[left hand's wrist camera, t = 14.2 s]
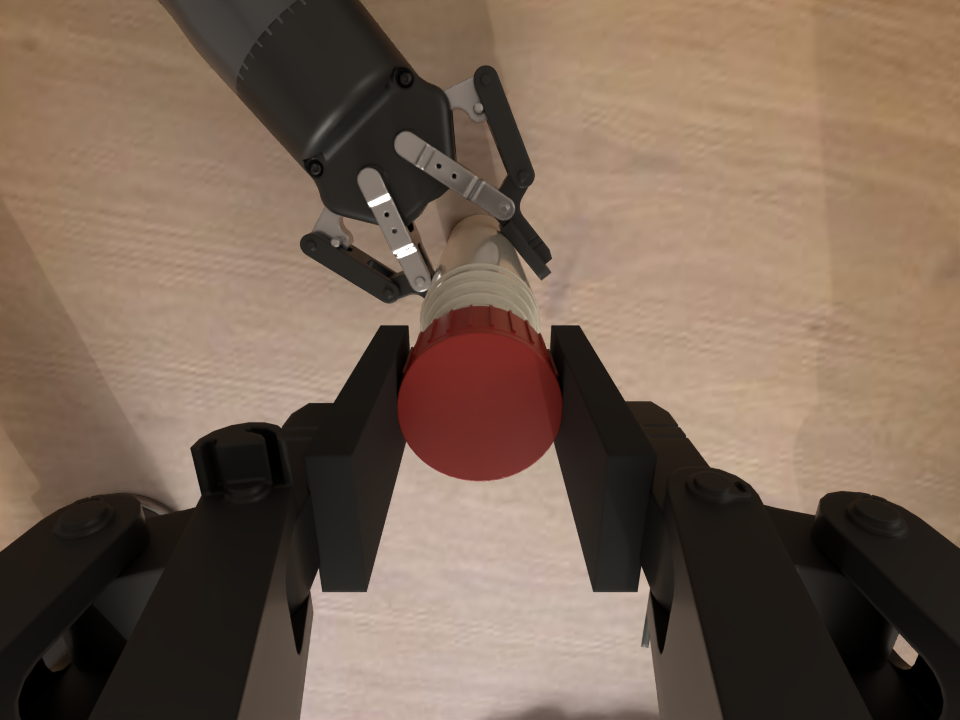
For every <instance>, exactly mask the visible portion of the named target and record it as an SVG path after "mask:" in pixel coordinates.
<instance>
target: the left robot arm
mask: <svg viewBox="0 0 960 720" xmlns="http://www.w3.org/2000/svg"><path fill="white" fill-rule="evenodd" d="M409 352H410V345H409V326H408V325H381V326H380V327H379V329H378V331H377V332H376V334H375V336H374V337H373V339H372V341H371V342H370V344H369V346H368V347H367V349H366V350H365V352H364V354H363V355H362V357H361V359H360V360H359V362H358V364H357V365H356V367H355V369H354V370H353V372H352V374H351V375H350V377H349V378H348V380H347V382H346V383H345V385H344V387H343V388H342V390H341V392H340V393H339V395H338V397H337V398H336V400H335V402H334V403H308V404H307V405H305V406H304V407H302V408H300V409H299V410H297V411H296V412H294V413H292V414H291V415H290V417H289V418H288V419H287V421H286V422H285V423H284V425H283V426H282V428H280V427H279V426H278V425H274V424H270V423H265V422H248V423H242V424H236V425H231V426H228V427H225V428H222V429H219V430H216V431H213V432H211V433H209V434H208V435H206V436H204V437H202V438H200V439H199V440H198V441H197V442H196V443H195V444H194V445H193V446H192V447H191V448H190V449H191V453H192V457H193V461H194V465H195V470H196V474H197V478H198V482H199V486H200V491H201V495H202V496H201V498H200V500H199V502H198V504H197V506H196V507H195V508H191V509H187V510H183V511H178V512H172V513H167V514H162V515H157V516H152V517H147V518H145V516H144V512H143V509H142V505H141V502H140V501H139V500H137V499H136V498H135V497H134V496H131V495H125V494H120V493H119V494H107V495H97V496H91V498H88V497H87V498H84V499H81V500H78V501H76V502H74V503H73V504H70V505H68V506H66V507H63V508H61V509H59V510H57V511H55V512H54V513H52V514H51V515H49V516H47V517H46V518H44V519H43V520H41V521H40V522H38V523H37V524H36V525H35V526H33V527H32V528H31V529H29V530H28V531H27V532H26V533H24V534H23V535H22V536H20V537H19V538H18V539H17V540H15V541H14V542H13V543H11V544H10V545H9V546H7V547H6V548H5V549H4V550H2V551H1V552H0V720H300V714H301V706H302V698H303V690H304V682H305V675H306V667H307V659H308V651H309V643H310V635H311V627H312V620H313V606H312V599H311V593H310V589H311V586H312V584H313V581H314V579H315V576H316V574H317V571H318V568H319V572H320V579H321V586H322V592H367V588H368V585H369V581H370V577H371V573H372V569H373V566H374V562H375V558H376V554H377V550H378V547H379V543H380V539H381V535H382V531H383V528H384V524H385V520H386V516H387V513H388V509H389V505H390V501H391V497H392V494H393V490H394V486H395V482H396V478H397V475H398V471H399V467H400V463H401V459H402V456H403V452H404V448H405V444H406V440H405V438H404V436H403V434H402V431H401V429H400V425H399V421H398V407H397V397H398V391H399V388H400V385H401V382H402V379H403V376H404V375H402V371H403V368H404V366H405V363H406V360H407V358H408V355H409ZM550 353H551V355H552V358H553V361H554V363H555V366H556V369H557V371H558V374H559V377H557V379H558V382H559V385H560V388H561V392H562V398H563V404H562V419H561V425H560V428H559V431H558V433H557V435H556V438H555V440H554V445H555V448H556V452H557V456H558V460H559V464H560V467H561V471H562V475H563V479H564V483H565V486H566V490H567V494H568V498H569V502H570V505H571V509H572V513H573V517H574V521H575V524H576V528H577V532H578V536H579V540H580V543H581V547H582V551H583V555H584V559H585V562H586V566H587V570H588V574H589V578H590V581H591V585H592V589H593V592H638V585H639V578H640V571H641V566H642V569H643V571H644V574H645V576H646V579H647V581H648V584H649V586H650V593H649V599H648V605H647V612H646V618H645V624H644V631H643V637H642V645H641V647H647V648H648V646H649V640H650V642H651V650H652V658H653V666H654V673H655V681H656V689H657V697H658V705H659V713H660V720H960V548H958V547H957V546H956V545H954V544H953V543H952V542H950V541H949V540H948V539H947V538H945V537H944V536H943V535H941V534H940V533H939V532H937V531H936V530H935V529H934V528H932V527H931V526H930V525H928V524H927V523H926V522H924V521H923V520H922V519H921V518H919V517H917V516H916V515H914V514H913V513H911V512H909V511H908V510H906V509H905V508H903V507H901V506H899V505H896V504H894V503H892V502H889V501H887V500H886V499H884V498H882V497H878V496H875V495H872V496H871V495H870V494H867V493H861V492H847V491H839V492H833V493H827V494H826V495H825V496H824V497H823V498H821V499H820V501H819V505H818V508H817V512H816V515H810V514H805V513H800V512H795V511H789V510H784V509H779V508H775V507H771V506H767V505H763V503H762V501H761V499H760V497H759V495H758V494H757V492H756V491H755V490H754V489H753V488H752V486H751V485H750V484H748V483H747V482H745V481H744V480H742V479H741V478H739V477H737V476H736V475H733V474H730V473H728V472H725V471H723V470H720V469H715V468H710V467H709V465H708V464H707V463H706V461H705V460H704V459H703V457H702V456H701V455H700V453H699V452H698V451H697V449H696V448H695V447H694V445H693V444H692V443H691V441H690V440H689V439H688V438H686V435H685V433H684V432H683V431H682V429H681V428H680V427H678V424H677V423H676V421H675V420H674V419H673V417H672V416H671V415H670V413H669V412H667V411H666V410H664V409H663V408H661V407H659V406H658V405H656V404H654V403H653V402H651V401H625V400H624V398H623V397H622V395H621V394H620V392H619V390H618V389H617V387H616V385H615V384H614V382H613V380H612V379H611V377H610V375H609V374H608V372H607V370H606V369H605V367H604V366H603V364H602V362H601V361H600V359H599V357H598V356H597V354H596V352H595V351H594V349H593V347H592V346H591V344H590V342H589V341H588V339H587V337H586V336H585V334H584V333H583V331H582V329H581V328H580V326H579V325H551V342H550ZM898 634H900V635H901V636H902V637H903V638H904V639H905V640H906V641H907V642H908V643H909V644H910V645H911V646H912V647H913V648H914V650H915V651H916V652H917V653H918V654H919V655H918V657H917V659H916V662H915V664H914V665H913V666H910V665H908V664H907V663H906V662H905V661H904V660H903V659H902V658H901V657H900V656H899V655H898V654H897V653H896V652H895V651H894V649H893V647H894V644H895V642H896V639H897V637H898ZM61 636H62V637H63V640H64V642H65V645H66V647H67V650H68V651H67V652H66V654H65V655H64V656H63V657H62V658H61V659H60V660H59V661H58V662H57V663H56V664H54V665H53V666H52V667H51V668H48V667H47V666H46V664H45V662H44V660H43V656H44V655H45V653H46V652H47V651H48V650H49V649H50V648H51V647H52V646H53V645H54V644H55V643H56V642H57V641H58V639H59V638H60V637H61Z"/></svg>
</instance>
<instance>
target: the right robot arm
mask: <svg viewBox="0 0 960 720" xmlns="http://www.w3.org/2000/svg"><path fill="white" fill-rule="evenodd" d="M158 1H159V2H160V4H162V5H163V7H164V8H165V9H166V10H167V11H168V13H169V14H170V15H171V16H172V18H173V19H174V20H175V22H176V23H177V24H178V26H179V27H180V29H181V30H182V31H183V33H184V34H185V36H186V37H187V38H188V40H189V41H190V42H191V44H192V45H193V46H194V48H195V49H196V50H197V51H198V53H199V54H200V55H201V56H202V57H203V58H204V60H205V61H206V62H207V63H208V64H209V65H210V66H211V68H212V69H213V70H214V71H215V72H216V73H217V74H218V75H219V76H220V77H221V79H222V80H223V81H224V82H225V83H226V84H227V85H228V86H229V87H230V88H231V89H232V91H233V92H234V93H235V94H236V95H237V96H238V97H239V98H240V99H241V100H242V101H243V103H244V104H245V105H246V106H247V107H248V108H249V109H250V110H251V111H252V112H253V114H254V115H255V116H256V117H257V118H258V119H259V120H260V121H261V122H262V124H263V125H264V126H265V127H266V128H267V129H268V130H269V131H270V132H271V133H272V135H273V136H274V137H275V138H276V139H277V140H278V141H279V142H280V143H281V144H282V146H283V147H284V148H285V149H286V150H287V151H288V152H289V153H290V154H291V155H292V157H293V158H294V159H295V160H296V161H297V162H298V163H299V164H300V165H301V166H302V168H303V169H304V170H305V171H306V172H307V173H308V174H309V175H310V176H311V177H312V179H313V180H314V181H315V183H316V185H317V187H318V190H319V193H320V196H321V200H322V202H323V204H324V205H325V208H324V210H323V211H322V213H321V215H320V217H319V219H318V221H317V223H316V225H315V227H314V229H313V231H312V232H311V233H309V234H307V235H305V236H303V237H302V239H301V241H300V247H301V249H302V251H303V252H304V253H305V254H306V255H308V256H309V257H311V258H312V259H314V260H316V261H317V262H319V263H321V264H322V265H324V266H326V267H327V268H329V269H330V270H332V271H334V272H335V273H337V274H339V275H340V276H342V277H344V278H345V279H347V280H348V281H350V282H352V283H353V284H355V285H357V286H358V287H360V288H362V289H363V290H365V291H366V292H368V293H370V294H371V295H373V296H375V297H376V298H378V299H380V300H381V301H383V302H385V303H394V302H395V301H397V299H400V298H403V297H405V296H408V295H411V294H417V295H420V296H422V297H423V298H424V299H425V296H426V294H427V291H428V289H429V286H430V284H431V281H432V279H433V276H434V274H435V271H434V268H433V266H432V264H431V261H430V259H429V257H428V255H427V253H426V250H425V248H424V246H423V244H422V241H421V237H420V234H419V232H418V230H417V228H416V225H415V223H414V220H415V219H416V218H417V217H419V216H420V215H421V214H422V212H423V211H424V209H425V208H426V206H427V204H428V203H429V202H431V201H433V200H435V199H437V198H439V197H440V196H442V195H443V194H444V193H445V192H446V191H447V190H448V189H449V188H450V189H452V190H453V191H455V192H456V193H458V194H459V195H461V196H463V197H464V198H466V199H468V200H469V201H471V202H473V203H474V204H476V205H477V206H479V207H480V208H482V209H483V210H485V211H486V212H488V213H489V214H491V215H492V216H494V217H495V218H496V220H497V221H498V222H499V223H500V224H499V228H500V230H501V232H502V233H503V234H504V235H505V237H506V238H507V239H508V240H509V241H510V242H511V244H512V245H513V246H514V248H515V249H516V250H517V251H518V253H519V254H520V255H521V256H522V258H523V259H524V260H525V261H526V262H527V264H528V265H529V266H530V267H531V269H532V270H533V271H534V272H535V273H536V275H537V276H538V277H539V278H540V279H541V280H543V279H544V278H545V277H546V276H548V275H549V274H550V273H551V271H550V270H549V268H548V267H547V266H546V263H547V262H549V261H550V260H551V259H552V257H551V253H550V250H549V248H548V247H547V246H546V244H545V243H544V242H543V241H542V239H541V238H540V237H539V236H538V234H537V233H536V232H535V231H534V229H533V228H532V227H531V225H530V224H529V223H528V222H527V220H526V219H525V218H524V217H523V215H522V214H521V211H520V201H521V199H522V197H523V195H524V193H525V192H526V190H527V188H528V187H529V186H530V185H531V184H532V183H533V181H534V177H535V174H534V170H533V167H532V165H531V162H530V159H529V157H528V154H527V151H526V149H525V146H524V143H523V141H522V138H521V135H520V133H519V130H518V128H517V125H516V122H515V120H514V117H513V114H512V112H511V109H510V106H509V104H508V101H507V98H506V96H505V93H504V90H503V88H502V85H501V82H500V80H499V77H498V74H497V72H496V71H495V69H494V68H492V67H491V66H486V65H485V66H481V67H479V68H478V69H477V70H476V72H475V74H474V76H472V77H470V78H468V79H466V80H464V81H462V82H460V83H458V84H456V85H454V86H452V87H450V88H448V89H446V90H444V91H443V90H442V89H441V88H439V87H438V86H436V85H433V84H431V83H428V82H426V81H425V80H423V79H422V78H421V77H419V76H418V74H417V73H416V72H415V71H414V69H413V68H412V67H411V66H410V64H409V63H408V62H407V60H406V59H405V58H404V57H403V55H402V54H401V53H400V51H399V50H398V49H397V48H396V46H395V45H394V44H393V43H392V41H391V40H390V39H389V37H388V36H387V35H386V34H385V32H384V31H383V30H382V29H381V27H380V26H379V25H378V23H377V22H376V21H375V20H374V18H373V17H372V16H371V15H370V13H369V12H368V11H367V9H366V8H365V7H364V6H363V4H362V3H361V2H360V1H359V0H158ZM453 110H462V111H464V112H465V113H466V114H467V115H468V116H469V118H470V120H471V121H473V122H474V123H483V122H485V121H487V124H488V126H489V129H490V131H491V134H492V136H493V139H494V141H495V144H496V146H497V149H498V151H499V154H500V157H501V159H502V162H503V164H504V167H505V169H506V172H507V176H506V177H505V179H504V181H503V183H502V185H501V187H500V188H499V190H498V189H497V188H495V187H494V186H492V185H491V184H489V183H488V182H487V181H485V180H484V179H482V178H481V177H479V176H478V175H477V174H475V173H474V172H472V171H471V170H469V169H468V168H466V167H465V166H463V165H462V164H460V163H459V162H457V159H456V147H455V136H454V124H453V113H452V111H453ZM456 175H457V177H456ZM343 217H347V218H351V219H355V220H359V221H363V222H368V223H372V224H376V225H379V226H380V228H381V230H382V232H383V234H384V236H385V238H386V240H387V243H388V245H389V247H390V249H391V251H392V253H393V254H394V255H395V256H396V257H397V259H398V261H399V263H400V265H401V267H402V269H403V271H401V272H399V273H396V272H395V271H393V270H391V269H390V268H388V267H387V266H385V265H383V264H382V263H380V262H379V261H377V260H376V259H374V258H372V257H371V256H369V255H368V254H366V253H364V252H363V251H361V250H360V249H358V248H356V247H355V246H353V245H352V244H353V236H352V234H351V232H350V231H349V230H348V229H346V227H345V226H344V224H343ZM125 495H131V496H134V497H135V498H136V499H137V500H139V501H140V502H141V505H142V509H143V512H144V516H145V518H147V517H152V516H157V515H162V514H167V513H172V512H173V511H172V510H170V509H169V508H168V507H166V506H164V505H163V504H161V503H159V502H157V501H155V500H152V499H149V498H147V497H143V496H139V495H132V494H125ZM67 651H68V650H67V647H66V645H65V642H64V640H63V637H62V636H61V637H60V638H59V639H58V641H57V642H56V643H55V644H54V645H53V646H52V647H51V648H50V649H49V650H48V651H47V652H46V653H45V655H44V656H43V660H44V662H45V664H46V666H47V667H48V668H51V667H52V666H53V665H54V664H56V663H57V662H58V661H59V660H60V659H61V658H62V657H63V656H64V655H65V654H66V652H67Z"/></svg>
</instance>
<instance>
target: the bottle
mask: <svg viewBox="0 0 960 720" xmlns="http://www.w3.org/2000/svg"><path fill="white" fill-rule="evenodd" d="M499 224H500V223H499V222H498V221H497V220H496V219H495V218H493V217H491V216H488V215H482V214H477V215H472V216H469V217H466V218H465V219H463V220H461V221H460V222H459V223H458V224H457V225H456V226H455V227H454V229H453V230H452V232H451V235H450V237H449V239H448V242H447V244H446V247H445V249H444V252H443V254H442V257H441V259H440V262H439V264H438V267H437V269H436V271H435V274H434V276H433V279H432V281H431V284H430V286H429V289H428V291H427V294H426V296H425V299H424V301H423V304H422V308H421V313H420V332H421V331H422V332H424V330H425V329H426V328H427V327H428V326H429V325H430V324H431V323H432V322H433V319H435V318H436V319H438V318H440V317H441V316H443V315H444V314H447V313H449V312H450V310H451V309H453V310H457V309H460V308H464V307H469V305H472V304H473V306H489V305H493V307H496V308H500V309H503V310H506V311H509V310H511V311H512V313H513V314H515V315H517V316H519V317H520V318H522V319H523V320H526V319H527V320H528V321H529V324H530V325H531V326H532V327H533V328H534V329H535V331H536V332H537V333H538V334H539V333H540V315H539V309H538V305H537V302H536V299H535V297H534V294H533V292H532V289H531V287H530V284H529V282H528V279H527V277H526V274H525V272H524V269H523V267H522V265H521V262H520V260H519V257H518V255H517V252H516V250H515V248H514V246H513V245H512V244H511V242H510V241H509V240H508V239H507V238H506V237H505V235H504V234H503V233H502V232H501V230H500V228H499Z"/></svg>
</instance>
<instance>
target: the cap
mask: <svg viewBox="0 0 960 720" xmlns="http://www.w3.org/2000/svg"><path fill="white" fill-rule="evenodd" d="M402 375H404V376H403V379H402V382H401V385H400V388H399V391H398V397H397V407H398V421H399V425H400V429H401V431H402V434H403V436H404V438H405V440H406V441H407V443H408V445H409V446H410V448H411V449H412V450H413V451H414V453H415V454H416V455H417V456H418V457H419V458H420V459H421V460H422V461H423V462H425V463H426V464H427V465H429V466H430V467H432V468H433V469H435V470H437V471H439V472H441V473H443V474H445V475H448V476H450V477H454V478H457V479H461V480H467V481H492V480H499V479H503V478H506V477H510V476H512V475H515V474H517V473H519V472H521V471H523V470H525V469H527V468H528V467H530V466H531V465H532V464H534V463H535V462H536V461H537V460H539V459H540V458H541V457H542V456H543V455H544V454H545V452H546V451H547V450H548V449H549V447H550V446H551V444H552V443H553V441H554V440H555V438H556V435H557V433H558V431H559V428H560V425H561V419H562V404H563V398H562V392H561V388H560V385H559V382H558V379H557V377H559V374H558V371H557V369H556V366H555V363H554V361H553V358H552V355H551V353H550V350H549V349H546V346H545V343H544V340H543V338H542V335H541V333H539V334H538V333H537V332H536V331H535V329H534V328H533V327H532V326H531V325H530V324H529V321H528V320H527V319H526V320H523V319H522V318H520V317H519V316H517V315H515V314H513V313H512V311H511V310H509V311H506V310H503V309H500V308H496V307H493V305H489V306H473V304H472V305H469V307H464V308H460V309H457V310H453V309H451V310H450V312H449V313H447V314H444V315H443V316H441V317H440V318H438V319H436V318H435V319H433V322H432V323H431V324H430V325H429V326H428V327H427V328H426V329H425V330H424V332H422V331H421V332H420V333H419V336H418V339H417V342H416V344H415V346H414V347H411V349H410V352H409V355H408V358H407V360H406V363H405V366H404V368H403V371H402Z"/></svg>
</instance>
